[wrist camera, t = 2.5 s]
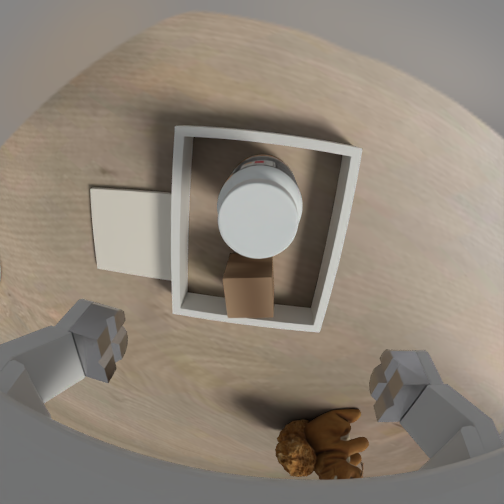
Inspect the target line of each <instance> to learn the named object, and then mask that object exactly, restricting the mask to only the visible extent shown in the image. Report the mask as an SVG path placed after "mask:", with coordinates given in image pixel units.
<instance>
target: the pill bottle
mask: <svg viewBox="0 0 504 504" xmlns="http://www.w3.org/2000/svg"><path fill="white" fill-rule="evenodd" d="M217 212H218V227H219V231H220V234H221V236H222V238H223V239H224V241H225V242H226V244H227V245H228V246H229V247H230V248H231V249H233V250H234V251H235V252H237V253H239V254H241V255H243V256H246V257H249V258H257V259H262V258H268V257H272V256H274V255H277V254H279V253H280V252H282V251H283V250H285V249H286V248H287V247H288V246H289V245H290V244H291V242H292V241H293V239H294V237H295V235H296V232H297V229H298V223H299V221H300V218H301V215H302V196H301V193H300V190H299V188H298V185H297V183H296V180H295V177H294V175H293V173H292V171H291V170H290V168H289V167H288V166H287V165H286V164H285V163H284V162H283V161H282V160H280V159H278V158H276V157H274V156H270V155H255V156H251V157H249V158H247V159H245V160H243V161H242V162H241V163H240V164H239V165H238V166H237V167H236V168H235V169H234V171H233V172H232V173H231V175H230V177H229V178H228V179H227V181H226V182H225V184H224V185H223V187H222V189H221V191H220V194H219V197H218V202H217Z"/></svg>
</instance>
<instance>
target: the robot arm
mask: <svg viewBox="0 0 504 504" xmlns="http://www.w3.org/2000/svg"><path fill="white" fill-rule="evenodd" d="M0 279H1V267H0ZM124 322H125V314H124V311H122V310H121V309H118V308H114V307H111V306H107V305H103V304H100V303H97V302H92V301H89V300H85V299H80V300H78V301H77V302H76V303H75V305H74V306H73V307H72V308H71V309H70V310H69V311H68V312H67V313H66V314H65V316H64V317H63V318H62V319H61V320H60V321H59V322H58V323H57V325H56V326H55V327H54V326H48V327H46V328H43V329H40V330H38V331H35V332H33V333H30V334H27V335H25V336H22V337H19V338H17V339H14V340H11V341H9V342H6V343H3V344H1V345H0V504H504V445H503V443H502V441H501V438H500V436H499V433H498V431H497V429H496V427H495V425H494V422H493V420H492V419H491V418H489V417H488V416H487V415H486V414H484V413H483V412H482V411H481V410H479V409H478V408H477V407H476V406H474V405H473V404H472V403H471V402H469V401H468V400H467V399H466V398H464V397H463V396H462V395H461V394H459V393H458V392H457V391H455V390H454V389H453V388H452V387H450V386H449V385H448V384H443V382H442V380H441V377H440V375H439V373H438V371H437V369H436V367H435V365H434V363H433V361H432V359H431V357H430V355H429V353H428V352H427V351H425V350H412V351H411V350H389V349H386V350H385V351H384V352H383V353H382V355H381V357H380V361H381V364H380V365H378V366H377V367H375V368H374V370H373V372H372V374H371V377H370V382H369V390H370V394H371V396H372V397H373V398H374V399H375V400H376V402H375V404H374V410H375V414H376V418H377V422H399V421H400V424H401V425H402V426H403V427H404V428H405V430H406V431H407V432H408V433H409V434H410V436H411V437H412V438H413V439H414V440H415V441H416V443H417V444H418V445H419V446H420V447H421V449H422V450H423V451H424V452H425V453H426V454H427V456H428V457H429V458H430V459H429V460H428V461H427V462H426V463H425V464H424V465H423V466H422V467H421V468H420V469H419V471H413V472H407V473H401V474H394V475H386V476H377V477H367V478H354V479H332V480H300V479H278V478H264V477H254V476H245V475H237V474H230V473H223V472H217V471H211V470H205V469H200V468H195V467H190V466H185V465H181V464H177V463H172V462H168V461H164V460H161V459H157V458H153V457H150V456H146V455H143V454H139V453H136V452H133V451H130V450H127V449H124V448H121V447H118V446H115V445H112V444H109V443H107V442H104V441H101V440H99V439H96V438H93V437H91V436H88V435H86V434H84V433H81V432H79V431H77V430H74V429H72V428H70V427H68V426H65V425H63V424H61V423H59V422H57V421H55V420H53V419H51V416H50V413H49V412H48V410H47V408H46V406H45V405H44V403H45V402H47V401H48V400H50V399H52V398H53V397H55V396H56V395H58V394H60V393H61V392H63V391H64V390H66V389H67V388H69V387H71V386H72V385H74V384H75V383H77V382H79V381H80V380H82V379H83V378H85V376H87V377H90V378H93V379H96V380H99V381H103V382H106V383H109V381H110V379H111V378H112V376H113V374H114V372H115V370H116V364H115V362H117V361H119V360H121V359H122V358H123V356H124V354H125V352H126V348H127V344H128V335H127V331H126V330H125V328H124V327H123V326H122V325H123V324H124Z"/></svg>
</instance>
